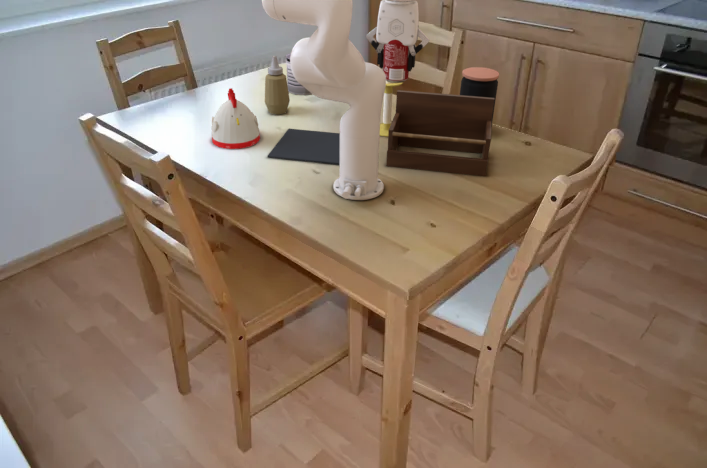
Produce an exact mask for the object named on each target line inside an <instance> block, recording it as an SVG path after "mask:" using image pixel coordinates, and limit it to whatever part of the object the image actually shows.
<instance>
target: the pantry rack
mask: <svg viewBox="0 0 707 468" xmlns="http://www.w3.org/2000/svg"><path fill="white" fill-rule="evenodd" d="M493 106H494V98H489V97H476V96H464V95H460V94H450V93H437V92H423V91H412V90H402V89H401V90H400V89H397V90H396V100H395V113H394V114H393V115H394V116H393V118H392V119H391V125H390V128H389V133H388V137H387V150H386V165H385V167H391V168H401V169H411V170H421V171H429V172H439V173H448V174H449V173H450V174H459V175H460V174H461V175H469V176H480V177H486V176H487V170H488V162H489V154H490V148H491V142H492V127H491V119H492V112H493ZM398 147H408V148H409V147H411V148H421V149H432V150H441V151H442V150H443V151H452V152H453V151H454V152H463V153H464V152H465V153H473V154H481V158H479V157H469V156H460V155H459V156H458V155H450V154H440V153H439V154H438V153H427V152H418V151H407V150H397V149H398Z"/></svg>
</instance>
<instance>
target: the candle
mask: <svg viewBox="0 0 707 468" xmlns="http://www.w3.org/2000/svg"><path fill="white" fill-rule="evenodd" d="M403 84H404V82H402V83H390V82H387V81H386V86H385V92H384V96H383V105H382V106H383V107H382V109H383V111H382V122H380V135H379V137H385V138H386V137H387V138H388V133H389V128H390V125H391V123H392V111H393V92H394V91H393V90H394V88H395V87H399V86H402V85H403Z"/></svg>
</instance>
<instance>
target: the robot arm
mask: <svg viewBox="0 0 707 468" xmlns="http://www.w3.org/2000/svg"><path fill="white" fill-rule="evenodd" d="M353 4H354V3H353V0H261V5H262V8H263V11H264V12H265V14H266V15H267V16H268V17H269V18H270V19H273V20H275V21H279V22H284V23H292V24H301V25H307V26H315V27H317V28H316V30H314V32H313V33H312V34H311V35H310V36H309V37H308V36H307V37H303V38H301V39H299V40H297V42H295V44H294V46H293V47H292V49H291V52H290V53H291V56H290V66H291V70H292V73H293V76H294V78H295V79H296V80H297V81H298V82H299V83H300V84H301V85H302V86H303V87H305V88H306V89H307V90H308V91H310V92H311V93H312V94H311V95H313V96H315V97H317V98H319V99H322V100H328V101H332V102H338V103H344V104H348V105H349V108H348V109H347V110H346V111H345V112H344V113H343V115H342V116H341V118H340V121H339V133H340V165H339V177H337V178H336V179H335V180H334V182H333V185H332V186H333V191H334V193H336V195H338V196H339V197H342V198H343V199H345V200H347V199H348V200H353V201H366V200H372V199H375V198H377V197H378V196H379V197H380V195H381V194H382V193H383V192H384V189H385V184H384V182H383V181H382V179H380V178H379V158H380V136H379V135H380V123H381V115H382V108H383V107H382V106H383V102H384V92H385V86H386V76H385V73H384V71H383V52H384V44H388V42H389V41H391V40H399V41H400V42H402V43H403V45H404V46H408V48H409V50H410V55H409V59H408V71H409V72H412V70H413V69H414V68H415V66H416V55H417V54H418V53H419V52H420V51H422V49H423V48H425V47H426V45H428V43H429V42H430V38H429V37H428V36H427V35H426V34H425V33H424V32H423V31H422V29H421V28H420V15H419V14H420V13H419V12H420V11H419V3H418V1H417V0H380V3H379V8H378V14H377V23H376V26H375V27H374V28H373V29H372V30H370V31H369V32H368V33H367V34H366V36H365V38H366V40H367V41H368V42H369V43H370V44H371V47H373V48H374V50H375V52H376V53H377V59H376V61H377V62H376V63H377V64H374V63H371V62H367V61H365V59H364V57H363V55H362V54H361V52H360V50H359V49H358V48H357V47H356V46H355V45H354V43H353V42H352V40H351V39H349V38H350V33H351V25H352V18H353V8H354V7H353ZM418 38H419V39H420V40H421V41H420V43H419V44H418V45H416V43H417V42H418Z"/></svg>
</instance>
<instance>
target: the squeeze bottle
mask: <svg viewBox="0 0 707 468" xmlns="http://www.w3.org/2000/svg"><path fill="white" fill-rule="evenodd" d="M264 80H265V81H264V82H265V83H264V103H265V104H264V105H265V106H266V109H267V111H268V113H269V114H270V115H284V114H286V113H287V112H288V108H289V105H290V100H291V99H290V92H289V91H288V86H287V74H284V68H283V66H280V64H279V61H278V57H277V55H273V56H272V59H271V66H268V67H267V74H266V75H265V79H264Z"/></svg>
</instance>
